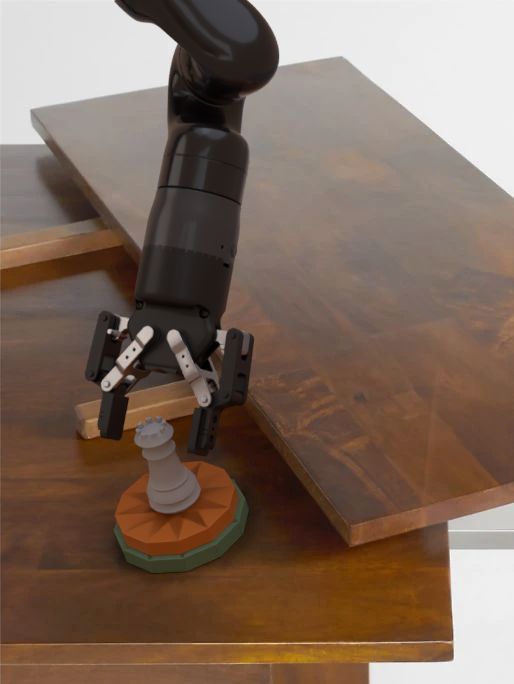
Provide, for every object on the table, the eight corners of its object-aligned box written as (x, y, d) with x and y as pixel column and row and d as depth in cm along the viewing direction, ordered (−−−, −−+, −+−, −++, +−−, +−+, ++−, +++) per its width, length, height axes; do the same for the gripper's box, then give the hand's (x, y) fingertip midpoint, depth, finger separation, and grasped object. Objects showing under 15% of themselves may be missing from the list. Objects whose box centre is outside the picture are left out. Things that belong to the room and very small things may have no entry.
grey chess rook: (176, 523, 114) (150, 449, 109) (139, 507, 116) (112, 433, 112) (212, 491, 116) (189, 417, 112) (175, 475, 119) (150, 402, 114)
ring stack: (106, 576, 115) (95, 550, 113) (136, 487, 123) (127, 462, 122) (234, 569, 113) (226, 542, 111) (257, 479, 122) (249, 453, 120)
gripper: (91, 234, 113) (54, 430, 112) (240, 249, 107) (202, 456, 106) (143, 254, 120) (108, 439, 119) (286, 270, 114) (251, 464, 113)
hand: (153, 447), depth 112 cm, fingers open, 8 cm apart
